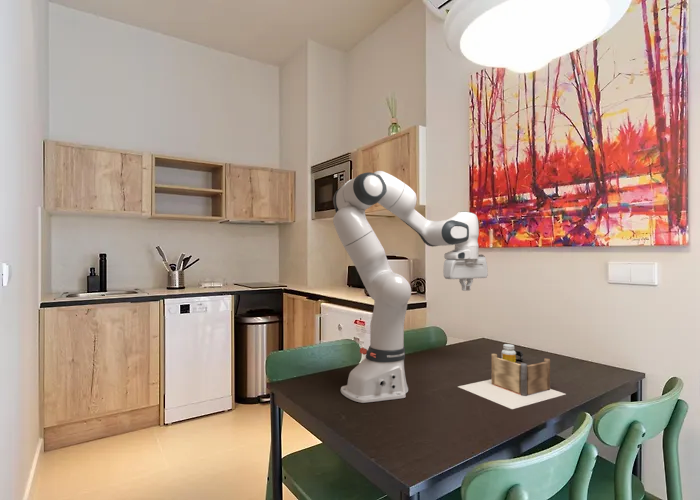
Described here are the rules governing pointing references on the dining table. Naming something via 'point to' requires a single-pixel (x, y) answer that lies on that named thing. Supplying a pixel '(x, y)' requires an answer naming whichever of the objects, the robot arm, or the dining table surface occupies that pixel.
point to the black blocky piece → (519, 353)
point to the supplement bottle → (508, 353)
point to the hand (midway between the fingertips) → (466, 290)
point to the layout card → (508, 394)
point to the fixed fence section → (535, 377)
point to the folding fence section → (506, 374)
